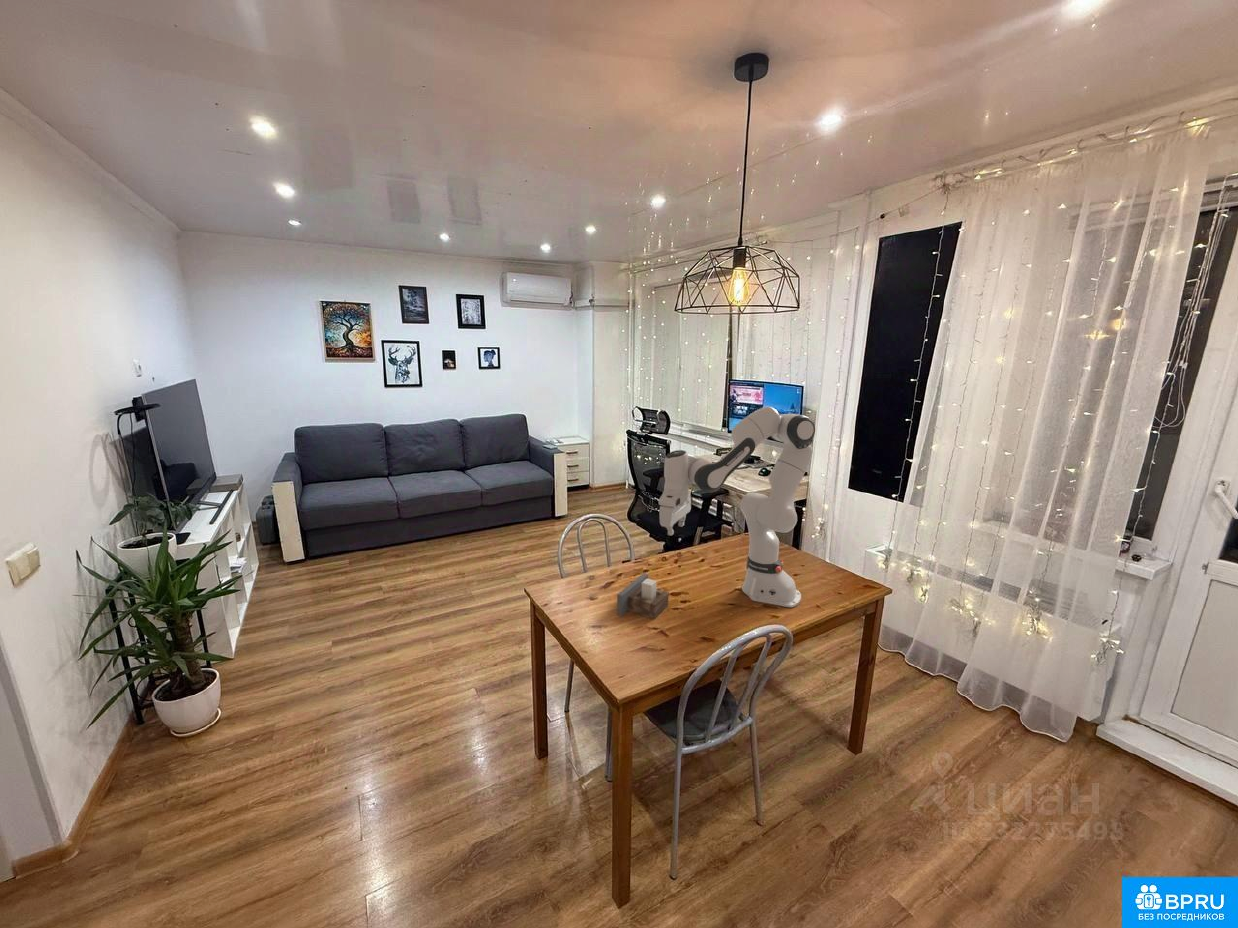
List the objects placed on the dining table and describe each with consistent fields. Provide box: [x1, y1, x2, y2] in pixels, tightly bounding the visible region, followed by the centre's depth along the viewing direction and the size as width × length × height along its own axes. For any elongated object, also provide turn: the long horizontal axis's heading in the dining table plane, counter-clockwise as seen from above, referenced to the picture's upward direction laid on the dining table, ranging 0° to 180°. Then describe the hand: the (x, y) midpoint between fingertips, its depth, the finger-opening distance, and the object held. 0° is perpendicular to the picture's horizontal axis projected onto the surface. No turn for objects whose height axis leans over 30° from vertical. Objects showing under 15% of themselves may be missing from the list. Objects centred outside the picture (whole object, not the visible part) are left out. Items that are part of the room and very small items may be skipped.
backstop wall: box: [616, 572, 649, 617], centre depth 185 cm, size 2×20×8 cm, turn 149°
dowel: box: [642, 578, 658, 601], centre depth 182 cm, size 4×4×10 cm
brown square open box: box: [627, 586, 670, 620], centre depth 182 cm, size 11×11×6 cm
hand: (676, 530), depth 183 cm, fingers open, 8 cm apart
